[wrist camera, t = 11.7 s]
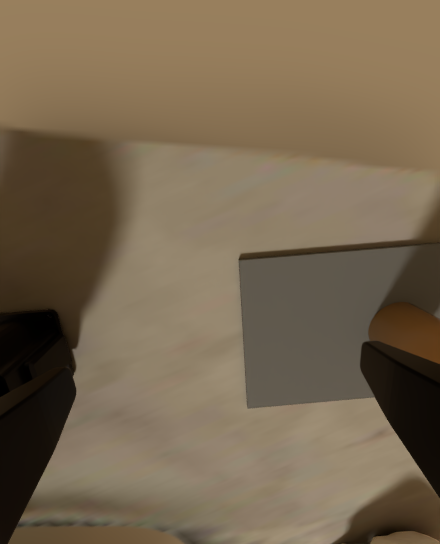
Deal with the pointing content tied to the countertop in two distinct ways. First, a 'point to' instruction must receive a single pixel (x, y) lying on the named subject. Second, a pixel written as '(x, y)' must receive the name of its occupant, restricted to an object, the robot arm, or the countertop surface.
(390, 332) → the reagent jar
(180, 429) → the countertop surface
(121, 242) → the countertop surface
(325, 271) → the rubber mat
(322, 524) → the countertop surface
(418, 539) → the skull bowl
